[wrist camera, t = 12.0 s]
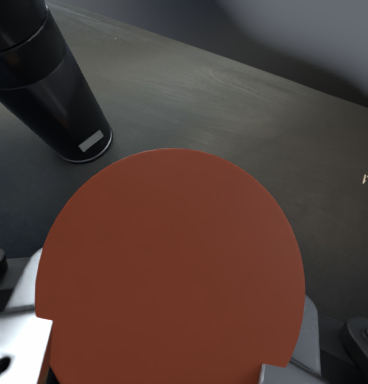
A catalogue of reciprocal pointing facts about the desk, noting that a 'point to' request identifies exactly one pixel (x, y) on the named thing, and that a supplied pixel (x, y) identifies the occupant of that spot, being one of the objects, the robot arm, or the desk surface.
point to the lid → (170, 275)
